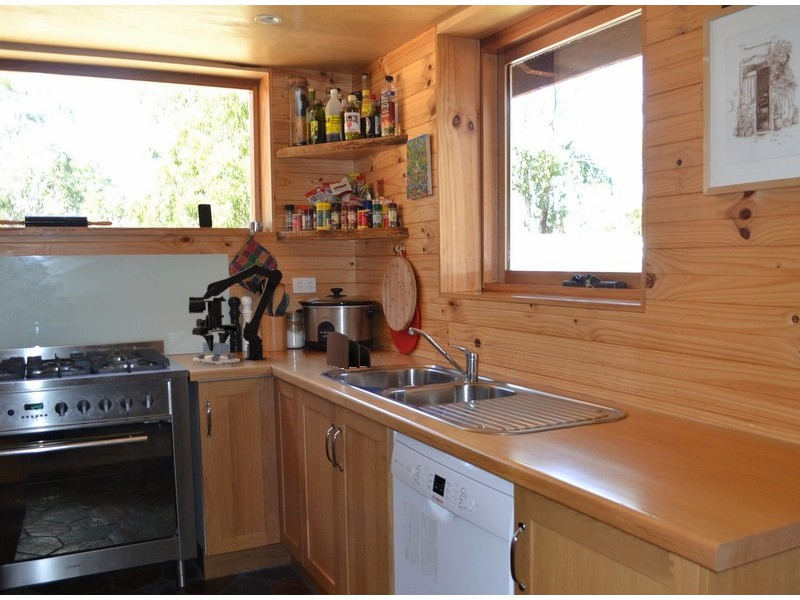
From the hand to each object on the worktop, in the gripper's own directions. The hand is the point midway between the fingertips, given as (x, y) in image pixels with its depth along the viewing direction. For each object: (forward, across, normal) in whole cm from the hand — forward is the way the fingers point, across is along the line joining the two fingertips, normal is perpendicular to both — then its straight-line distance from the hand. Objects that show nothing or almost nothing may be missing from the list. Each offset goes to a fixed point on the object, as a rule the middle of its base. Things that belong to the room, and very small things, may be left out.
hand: (216, 350), depth 296 cm
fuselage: (+1, 0, 0) cm, 1 cm away
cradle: (+4, 0, 0) cm, 4 cm away
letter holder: (+5, -20, +57) cm, 60 cm away
